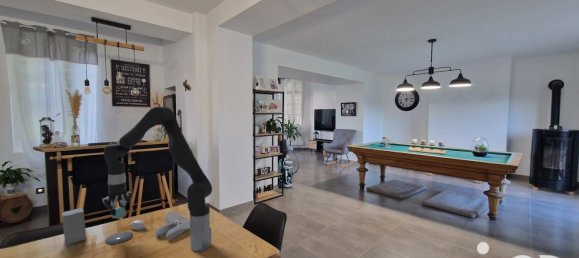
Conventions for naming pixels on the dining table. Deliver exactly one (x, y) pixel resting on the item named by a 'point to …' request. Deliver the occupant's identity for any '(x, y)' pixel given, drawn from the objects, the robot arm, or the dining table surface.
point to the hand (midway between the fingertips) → (118, 213)
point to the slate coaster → (119, 238)
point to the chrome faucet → (173, 226)
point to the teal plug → (119, 212)
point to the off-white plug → (138, 225)
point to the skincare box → (74, 226)
